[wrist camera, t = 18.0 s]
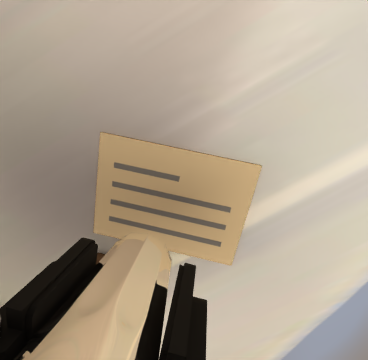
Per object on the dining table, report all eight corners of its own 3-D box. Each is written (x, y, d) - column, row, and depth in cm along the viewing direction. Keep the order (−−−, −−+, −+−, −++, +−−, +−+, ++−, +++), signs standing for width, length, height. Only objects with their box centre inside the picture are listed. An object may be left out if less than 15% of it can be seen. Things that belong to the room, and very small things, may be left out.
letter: (94, 230, 21) (92, 232, 21) (101, 132, 18) (99, 132, 18) (231, 263, 20) (231, 265, 20) (261, 165, 17) (262, 166, 17)
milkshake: (165, 310, 13) (39, 919, 3) (89, 262, 12) (-346, 800, 3) (211, 260, 11) (247, 1054, 2) (128, 203, 11) (-458, 856, 1)
